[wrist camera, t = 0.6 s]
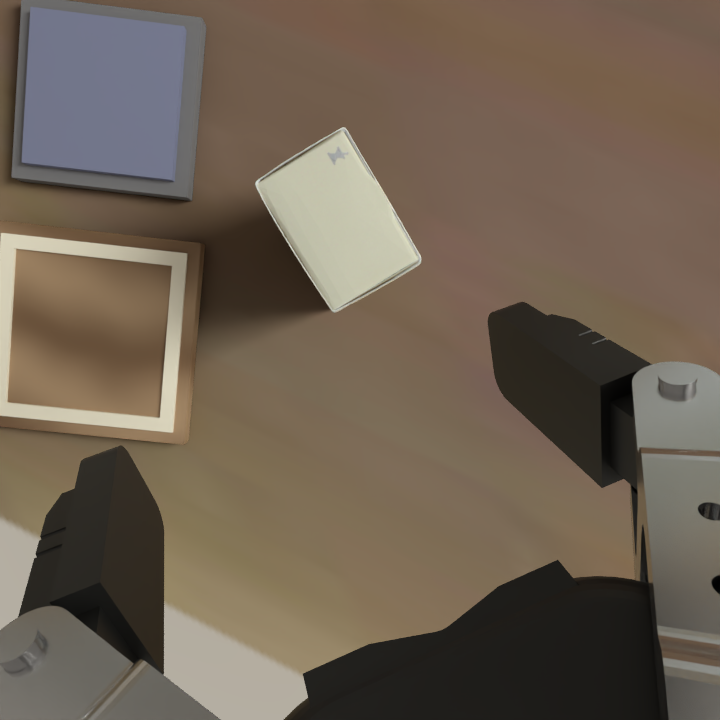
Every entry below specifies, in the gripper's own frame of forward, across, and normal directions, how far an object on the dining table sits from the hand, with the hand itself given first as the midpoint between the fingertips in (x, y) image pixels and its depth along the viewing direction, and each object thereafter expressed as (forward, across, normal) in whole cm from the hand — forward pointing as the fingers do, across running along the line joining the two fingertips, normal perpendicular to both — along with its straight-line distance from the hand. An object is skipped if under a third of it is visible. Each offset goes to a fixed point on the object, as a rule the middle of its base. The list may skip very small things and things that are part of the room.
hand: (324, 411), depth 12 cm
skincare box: (+23, -6, +4) cm, 24 cm away
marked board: (+25, +10, +5) cm, 27 cm away
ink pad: (+29, +4, -6) cm, 30 cm away
